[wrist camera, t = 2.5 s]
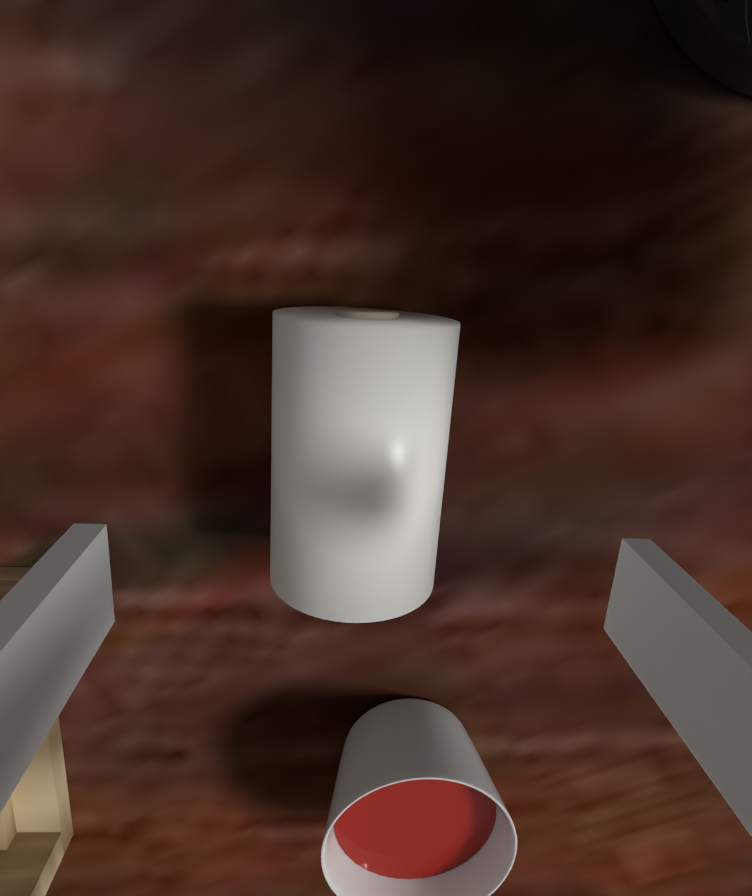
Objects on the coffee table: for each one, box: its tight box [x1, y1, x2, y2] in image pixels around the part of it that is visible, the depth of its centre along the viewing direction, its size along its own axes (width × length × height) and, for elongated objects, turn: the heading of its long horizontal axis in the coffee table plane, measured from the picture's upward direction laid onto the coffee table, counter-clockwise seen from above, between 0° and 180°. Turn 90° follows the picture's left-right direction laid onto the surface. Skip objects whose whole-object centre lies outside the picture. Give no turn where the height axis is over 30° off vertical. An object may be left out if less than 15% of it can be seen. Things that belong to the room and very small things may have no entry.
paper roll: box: [270, 306, 461, 623], centre depth 24 cm, size 11×7×7 cm, turn 177°
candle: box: [321, 698, 517, 896], centre depth 30 cm, size 9×9×6 cm
